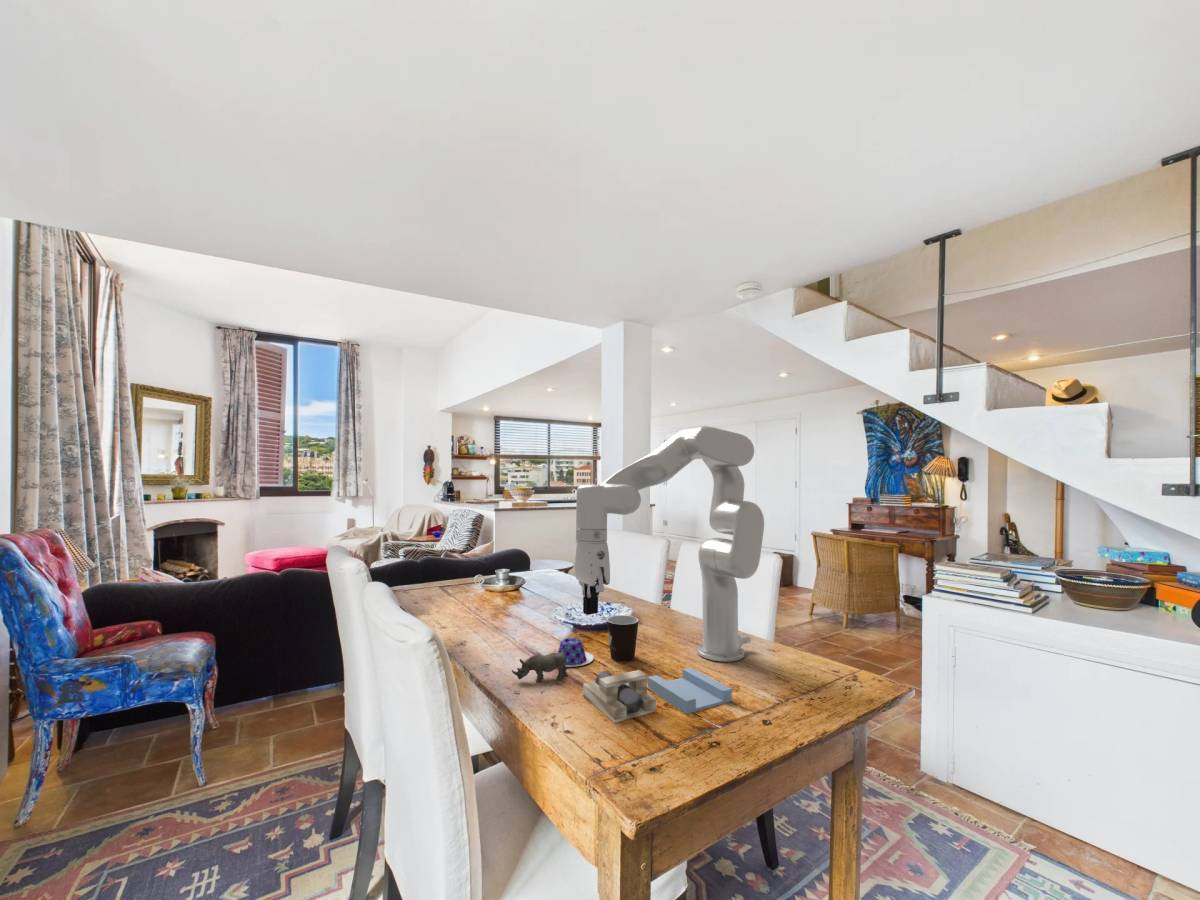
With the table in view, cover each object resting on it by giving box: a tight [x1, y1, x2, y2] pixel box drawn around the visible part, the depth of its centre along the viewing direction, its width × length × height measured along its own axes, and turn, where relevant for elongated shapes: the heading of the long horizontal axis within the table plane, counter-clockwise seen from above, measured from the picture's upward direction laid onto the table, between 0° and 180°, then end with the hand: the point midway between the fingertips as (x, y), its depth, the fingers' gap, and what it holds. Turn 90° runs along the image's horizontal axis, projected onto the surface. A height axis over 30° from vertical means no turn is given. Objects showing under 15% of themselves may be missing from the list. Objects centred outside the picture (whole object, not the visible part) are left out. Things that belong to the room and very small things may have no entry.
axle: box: [595, 670, 642, 713], centre depth 108 cm, size 13×4×4 cm, turn 29°
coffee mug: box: [606, 614, 639, 663], centre depth 137 cm, size 12×9×10 cm
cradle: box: [647, 666, 733, 715], centre depth 112 cm, size 12×14×3 cm
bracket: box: [582, 669, 657, 723], centre depth 108 cm, size 10×14×6 cm
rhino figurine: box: [511, 652, 568, 683], centre depth 120 cm, size 4×14×6 cm, turn 108°
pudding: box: [555, 637, 594, 668], centre depth 133 cm, size 12×12×5 cm
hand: (590, 613), depth 119 cm, fingers closed
